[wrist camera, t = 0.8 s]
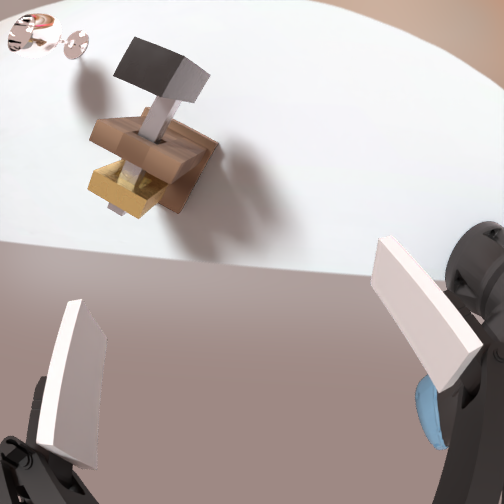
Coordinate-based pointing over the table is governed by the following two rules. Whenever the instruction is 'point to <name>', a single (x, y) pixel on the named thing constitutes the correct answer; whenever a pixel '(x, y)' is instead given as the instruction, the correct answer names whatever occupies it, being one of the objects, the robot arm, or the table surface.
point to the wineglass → (43, 37)
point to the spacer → (127, 189)
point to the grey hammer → (157, 92)
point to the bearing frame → (159, 153)
